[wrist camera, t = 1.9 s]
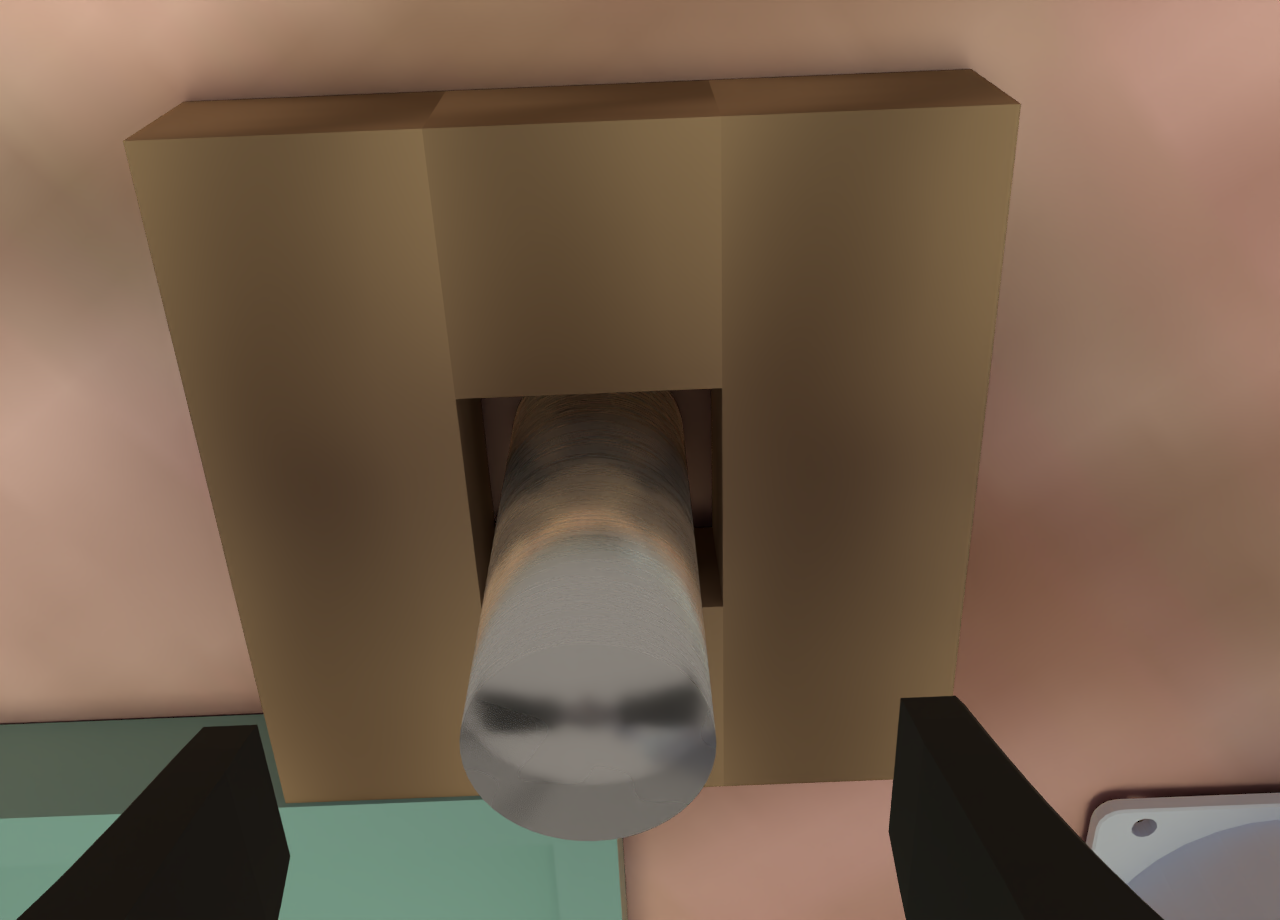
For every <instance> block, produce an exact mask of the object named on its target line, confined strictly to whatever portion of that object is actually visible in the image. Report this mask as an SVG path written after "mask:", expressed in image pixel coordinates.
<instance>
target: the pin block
mask: <svg viewBox="0 0 1280 920" xmlns="http://www.w3.org/2000/svg"><path fill="white" fill-rule="evenodd" d="M1020 108H1021V104H1020V103H1019V102H1017V101H1016V100H1015V99H1013V98H1012V97H1010V96H1009V95H1007V94H1006V93H1005V92H1003V91H1002V90H1000V89H999V88H997V87H996V86H995V85H993V84H992V83H990V82H989V81H987V80H986V79H985V78H983V77H982V76H980V75H979V74H977V73H976V72H975V71H973V70H972V69H964V70H940V71H916V72H892V73H867V74H843V75H819V76H795V77H771V78H747V79H723V80H698V81H674V82H650V83H626V84H602V85H578V86H553V87H529V88H505V89H481V90H457V91H433V92H409V93H384V94H360V95H336V96H312V97H288V98H264V99H240V100H215V101H191V102H183V103H181V104H180V105H178V106H176V107H175V108H173V109H172V110H170V111H169V112H167V113H166V114H164V115H163V116H161V117H159V118H158V119H156V120H155V121H153V122H152V123H150V124H149V125H147V126H146V127H144V128H142V129H141V130H139V131H138V132H136V133H135V134H133V135H132V136H130V137H129V138H127V139H125V140H124V141H123V143H124V147H125V151H126V155H127V159H128V163H129V167H130V171H131V176H132V180H133V184H134V188H135V192H136V196H137V200H138V204H139V208H140V212H141V216H142V220H143V224H144V228H145V233H146V237H147V241H148V245H149V249H150V253H151V257H152V261H153V265H154V269H155V273H156V277H157V281H158V286H159V290H160V294H161V298H162V302H163V306H164V310H165V314H166V318H167V322H168V326H169V330H170V334H171V338H172V343H173V347H174V351H175V355H176V359H177V363H178V367H179V371H180V375H181V379H182V383H183V387H184V391H185V396H186V400H187V404H188V408H189V412H190V416H191V420H192V424H193V428H194V432H195V436H196V440H197V444H198V448H199V453H200V457H201V461H202V465H203V469H204V473H205V477H206V481H207V485H208V489H209V493H210V497H211V501H212V506H213V510H214V514H215V518H216V522H217V526H218V530H219V534H220V538H221V542H222V546H223V550H224V554H225V558H226V563H227V567H228V571H229V575H230V579H231V583H232V587H233V591H234V595H235V599H236V603H237V607H238V611H239V616H240V620H241V624H242V628H243V632H244V636H245V640H246V644H247V648H248V652H249V656H250V660H251V664H252V668H253V673H254V677H255V681H256V685H257V689H258V693H259V697H260V701H261V705H262V709H263V713H264V717H265V721H266V726H267V730H268V734H269V738H270V742H271V746H272V750H273V754H274V758H275V762H276V766H277V770H278V774H279V778H280V783H281V787H282V791H283V795H284V799H285V803H310V802H335V801H360V800H386V799H411V798H436V797H461V796H480V795H479V794H478V793H477V791H476V790H475V789H474V787H473V785H472V784H471V782H470V780H469V779H468V777H467V774H466V772H465V769H464V767H463V763H462V759H461V755H460V742H459V740H460V731H461V724H462V719H463V713H464V707H465V701H466V696H467V690H468V684H469V678H470V673H471V667H472V661H473V655H474V649H475V644H476V638H477V632H478V626H479V621H480V615H481V609H482V603H483V598H484V592H485V586H486V580H487V575H488V569H489V563H490V557H491V552H492V546H493V540H494V534H495V522H494V513H493V504H492V495H491V486H490V477H489V469H488V460H487V451H486V442H485V433H484V424H483V415H482V406H481V398H492V397H516V396H541V395H566V394H590V393H615V392H640V391H664V390H689V389H711V426H712V527H703V528H694V536H695V545H696V555H697V564H698V574H699V583H700V592H701V602H702V611H703V620H704V630H705V639H706V648H707V658H708V667H709V676H710V686H711V695H712V704H713V714H714V723H715V733H716V756H715V760H714V764H713V768H712V771H711V773H710V775H709V777H708V780H707V782H706V783H705V785H704V786H703V787H714V786H739V785H764V784H790V783H815V782H840V781H865V780H891V779H893V777H894V766H895V755H896V744H897V733H898V721H899V710H900V699H901V698H912V697H937V696H953V688H954V679H955V671H956V662H957V653H958V645H959V636H960V627H961V619H962V610H963V601H964V593H965V584H966V575H967V567H968V558H969V549H970V541H971V532H972V523H973V515H974V506H975V497H976V489H977V480H978V471H979V463H980V454H981V445H982V437H983V428H984V419H985V411H986V402H987V393H988V385H989V376H990V368H991V359H992V350H993V342H994V333H995V324H996V316H997V307H998V298H999V290H1000V281H1001V272H1002V264H1003V255H1004V246H1005V238H1006V229H1007V220H1008V212H1009V203H1010V194H1011V186H1012V177H1013V168H1014V160H1015V151H1016V142H1017V134H1018V125H1019V116H1020Z"/></svg>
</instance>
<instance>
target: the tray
mask: <svg viewBox="0 0 1280 920" xmlns="http://www.w3.org/2000/svg"><path fill="white" fill-rule="evenodd" d="M235 725H258V729H259V733H260V737H261V741H262V745H263V749H264V753H265V757H266V761H267V765H268V769H269V773H270V777H271V781H272V785H273V789H274V793H275V797H276V801H277V805H278V809H279V813H280V817H281V821H282V825H283V828H284V832H285V836H286V840H287V844H288V848H289V852H290V861H289V866H288V872H287V877H286V882H285V888H284V893H283V898H282V903H281V908H280V913H279V918H278V920H628V915H627V899H626V882H625V866H624V849H623V838H618V839H613V840H603V841H574V840H564V839H559V838H554V837H549V836H546V835H542V834H539V833H536V832H533V831H530V830H528V829H526V828H523V827H521V826H519V825H517V824H515V823H513V822H512V821H510V820H508V819H506V818H505V817H503V816H502V815H501V814H499V813H498V812H496V811H495V810H494V809H493V808H492V807H491V806H489V805H488V804H487V803H486V802H485V801H484V800H483V799H482V797H481V796H461V797H436V798H411V799H386V800H360V801H335V802H310V803H285V799H284V795H283V791H282V787H281V783H280V778H279V774H278V770H277V766H276V762H275V758H274V754H273V750H272V746H271V742H270V738H269V734H268V730H267V726H266V721H265V717H264V714H259V715H233V716H208V717H183V718H158V719H133V720H108V721H83V722H58V723H33V724H8V725H0V920H16V919H17V918H18V917H19V916H20V915H22V914H23V913H24V912H25V911H26V910H27V909H28V908H29V907H30V906H31V905H32V904H33V903H34V902H35V901H36V900H37V899H38V898H39V897H40V896H41V895H42V894H43V893H45V892H46V891H47V890H48V889H49V888H50V887H51V886H52V885H53V884H54V883H55V882H56V881H57V880H58V879H59V878H60V877H61V876H62V875H63V874H64V873H65V872H66V871H67V870H68V869H69V868H70V867H71V866H72V865H73V864H74V863H75V862H76V861H77V860H78V859H79V858H80V857H81V856H82V855H83V854H84V852H85V851H86V850H87V849H88V848H89V847H90V846H91V845H92V844H93V843H94V842H95V841H96V840H97V839H98V838H99V837H100V836H101V835H102V834H103V833H104V832H105V831H106V830H107V829H108V828H109V827H110V826H111V825H112V824H113V822H114V821H115V820H116V819H117V818H118V817H119V816H120V815H121V814H122V813H123V812H124V811H125V810H126V809H127V808H128V806H129V805H130V804H131V803H132V802H133V801H134V800H135V799H136V798H137V797H138V796H139V795H140V794H141V793H142V791H143V790H144V789H145V788H146V787H147V786H148V785H149V784H150V783H151V782H152V781H153V780H154V778H155V777H156V776H157V775H158V774H159V773H160V772H161V771H162V770H163V769H164V768H165V767H166V766H167V764H168V763H169V762H170V761H171V760H172V759H173V758H174V757H175V756H176V755H177V754H178V753H179V752H180V751H181V749H182V748H183V747H184V746H185V745H186V744H187V743H188V742H189V741H190V740H191V739H192V738H193V737H194V736H195V735H196V734H197V733H198V732H199V731H200V730H201V729H202V728H203V727H211V726H235Z"/></svg>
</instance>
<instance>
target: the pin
mask: <svg viewBox="0 0 1280 920" xmlns="http://www.w3.org/2000/svg"><path fill="white" fill-rule="evenodd" d="M459 742H460V755H461V759H462V763H463V767H464V769H465V772H466V774H467V777H468V779H469V780H470V782H471V784H472V785H473V787H474V789H475V790H476V791H477V793H478V794H479V795H480V796H481V797H482V799H483V800H484V801H485V802H486V803H487V804H488V805H489V806H491V807H492V808H493V809H494V810H495V811H496V812H498V813H499V814H501V815H502V816H503V817H505V818H506V819H508V820H510V821H512V822H513V823H515V824H517V825H519V826H521V827H523V828H526V829H528V830H530V831H533V832H536V833H539V834H542V835H546V836H549V837H554V838H559V839H564V840H574V841H603V840H613V839H618V838H624V837H628V836H632V835H635V834H639V833H642V832H644V831H647V830H649V829H652V828H654V827H656V826H658V825H660V824H662V823H664V822H666V821H668V820H669V819H671V818H672V817H674V816H675V815H677V814H678V813H679V812H681V811H682V810H683V809H684V808H685V807H686V806H687V805H689V804H690V803H691V802H692V801H693V799H694V798H695V797H696V796H697V795H698V794H699V792H700V791H701V790H702V788H703V786H704V785H705V783H706V782H707V780H708V777H709V775H710V773H711V771H712V768H713V764H714V760H715V756H716V733H715V723H714V714H713V704H712V695H711V686H710V676H709V667H708V658H707V648H706V639H705V630H704V620H703V611H702V602H701V592H700V583H699V574H698V564H697V555H696V545H695V536H694V527H693V517H692V508H691V499H690V489H689V480H688V471H687V461H686V452H685V443H684V433H683V424H682V419H681V415H680V411H679V409H678V406H677V404H676V402H675V400H674V398H673V396H672V395H671V393H670V392H669V391H668V390H664V391H640V392H615V393H590V394H566V395H541V396H523V398H522V399H521V402H520V404H519V406H518V408H517V412H516V415H515V419H514V425H513V431H512V436H511V442H510V448H509V454H508V459H507V465H506V471H505V477H504V482H503V488H502V494H501V500H500V505H499V511H498V517H497V523H496V529H495V534H494V540H493V546H492V552H491V557H490V563H489V569H488V575H487V580H486V586H485V592H484V598H483V603H482V609H481V615H480V621H479V626H478V632H477V638H476V644H475V649H474V655H473V661H472V667H471V673H470V678H469V684H468V690H467V696H466V701H465V707H464V713H463V719H462V724H461V731H460V740H459Z"/></svg>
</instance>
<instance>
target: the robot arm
mask: <svg viewBox="0 0 1280 920" xmlns="http://www.w3.org/2000/svg"><path fill="white" fill-rule="evenodd" d="M1142 819H1145V820H1143V821H1142V822H1138V821H1139V820H1142ZM1136 822H1137V823H1136ZM889 836H890V841H891V846H892V852H893V857H894V862H895V867H896V873H897V878H898V883H899V888H900V893H901V898H902V902H903V907H904V912H905V917H906V920H1280V793H1260V794H1234V795H1209V796H1184V797H1158V798H1133V799H1115V800H1109V801H1107V802H1105V803H1103V804H1101V805H1100V806H1099V807H1097V808H1096V809H1095V810H1094V812H1093V814H1092V816H1091V820H1090V825H1089V830H1088V835H1087V840H1086V843H1085V842H1084V841H1083V840H1082V839H1081V838H1080V837H1079V836H1078V835H1077V834H1076V833H1075V832H1074V831H1073V829H1072V828H1071V827H1070V826H1069V825H1068V824H1067V823H1066V822H1065V821H1064V820H1063V819H1062V818H1061V817H1060V816H1059V814H1058V813H1057V812H1056V811H1055V810H1054V809H1053V808H1052V807H1051V806H1050V805H1049V804H1048V803H1047V802H1046V800H1045V799H1044V798H1043V797H1042V796H1041V795H1040V794H1039V793H1038V791H1037V790H1036V789H1035V788H1034V787H1033V786H1032V785H1031V784H1030V782H1029V781H1028V780H1027V779H1026V778H1025V777H1024V776H1023V774H1022V773H1021V772H1020V771H1019V770H1018V769H1017V767H1016V766H1015V765H1014V764H1013V763H1012V762H1011V760H1010V759H1009V758H1008V757H1007V756H1006V755H1005V753H1004V752H1003V751H1002V750H1001V749H1000V747H999V746H998V745H997V744H996V743H995V741H994V740H993V739H992V738H991V737H990V735H989V734H988V733H987V732H986V730H985V729H984V728H983V727H982V726H981V724H980V723H979V722H978V721H977V719H976V718H975V717H974V716H973V714H972V713H971V712H970V711H969V710H968V708H967V707H966V706H965V705H964V703H962V702H961V701H960V700H959V699H958V698H957V697H956V696H937V697H912V698H901V699H900V710H899V721H898V733H897V744H896V755H895V766H894V777H893V789H892V800H891V811H890V822H889ZM289 861H290V852H289V848H288V844H287V840H286V836H285V832H284V828H283V825H282V821H281V817H280V813H279V809H278V805H277V801H276V797H275V793H274V789H273V785H272V781H271V777H270V773H269V769H268V765H267V761H266V757H265V753H264V749H263V745H262V741H261V737H260V733H259V729H258V725H235V726H211V727H203V728H202V729H201V730H200V731H199V732H198V733H197V734H196V735H195V736H194V737H193V738H192V739H191V740H190V741H189V742H188V743H187V744H186V745H185V746H184V747H183V748H182V749H181V751H180V752H179V753H178V754H177V755H176V756H175V757H174V758H173V759H172V760H171V761H170V762H169V763H168V764H167V766H166V767H165V768H164V769H163V770H162V771H161V772H160V773H159V774H158V775H157V776H156V777H155V778H154V780H153V781H152V782H151V783H150V784H149V785H148V786H147V787H146V788H145V789H144V790H143V791H142V793H141V794H140V795H139V796H138V797H137V798H136V799H135V800H134V801H133V802H132V803H131V804H130V805H129V806H128V808H127V809H126V810H125V811H124V812H123V813H122V814H121V815H120V816H119V817H118V818H117V819H116V820H115V821H114V822H113V824H112V825H111V826H110V827H109V828H108V829H107V830H106V831H105V832H104V833H103V834H102V835H101V836H100V837H99V838H98V839H97V840H96V841H95V842H94V843H93V844H92V845H91V846H90V847H89V848H88V849H87V850H86V851H85V852H84V854H83V855H82V856H81V857H80V858H79V859H78V860H77V861H76V862H75V863H74V864H73V865H72V866H71V867H70V868H69V869H68V870H67V871H66V872H65V873H64V874H63V875H62V876H61V877H60V878H59V879H58V880H57V881H56V882H55V883H54V884H53V885H52V886H51V887H50V888H49V889H48V890H47V891H46V892H45V893H43V894H42V895H41V896H40V897H39V898H38V899H37V900H36V901H35V902H34V903H33V904H32V905H31V906H30V907H29V908H28V909H27V910H26V911H25V912H24V913H23V914H22V915H20V916H19V917H18V918H17V919H16V920H278V918H279V913H280V908H281V903H282V898H283V893H284V888H285V882H286V877H287V872H288V866H289Z"/></svg>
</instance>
